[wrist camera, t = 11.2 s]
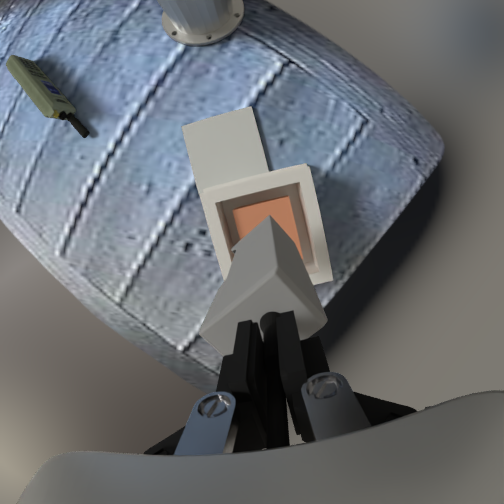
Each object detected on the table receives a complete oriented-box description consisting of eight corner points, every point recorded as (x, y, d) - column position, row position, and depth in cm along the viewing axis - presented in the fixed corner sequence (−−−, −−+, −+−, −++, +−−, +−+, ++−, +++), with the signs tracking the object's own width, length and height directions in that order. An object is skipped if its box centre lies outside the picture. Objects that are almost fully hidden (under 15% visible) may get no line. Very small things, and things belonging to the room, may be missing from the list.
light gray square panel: (182, 127, 39) (181, 126, 38) (251, 107, 38) (251, 106, 37) (199, 194, 41) (198, 194, 40) (269, 175, 40) (270, 175, 40)
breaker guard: (205, 188, 41) (194, 190, 34) (304, 163, 39) (312, 161, 33) (233, 288, 44) (228, 308, 37) (326, 266, 43) (337, 282, 36)
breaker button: (234, 208, 39) (232, 210, 36) (287, 195, 38) (289, 196, 35) (250, 265, 41) (248, 272, 38) (300, 253, 40) (303, 259, 37)
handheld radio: (34, 58, 36) (97, 127, 39) (25, 72, 36) (85, 143, 40) (12, 51, 29) (73, 123, 33) (3, 67, 30) (60, 141, 34)
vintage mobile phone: (231, 247, 30) (142, 478, 6) (269, 214, 29) (297, 408, 5) (257, 274, 31) (239, 524, 6) (294, 242, 30) (384, 470, 5)
